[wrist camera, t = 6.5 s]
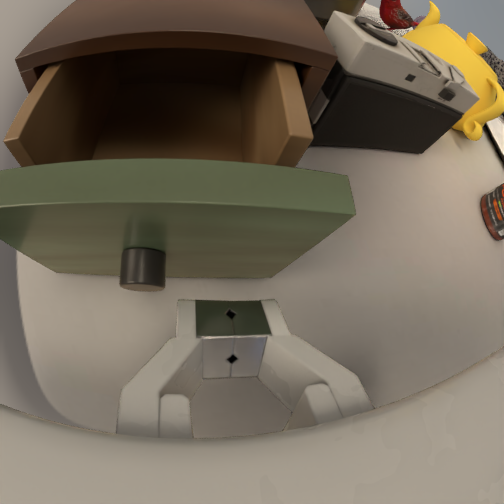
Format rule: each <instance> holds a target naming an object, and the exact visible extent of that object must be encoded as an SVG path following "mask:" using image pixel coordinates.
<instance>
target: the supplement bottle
mask: <svg viewBox="0 0 504 504" xmlns="http://www.w3.org/2000/svg"><path fill="white" fill-rule="evenodd" d="M481 208H482V214H483V217H484V220H485V223H486V226H487V228H488V229H489V231H490V233H491V234H492V235H493V237H494V238H495V239H497V240H502V239H504V183H503V184H501V185H500V186H498V187H496V188H495V189H493V190H492V191H490V192H488V193H487V194H485V195H484V196H483V197H482V200H481Z"/></svg>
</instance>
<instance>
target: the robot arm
mask: <svg viewBox="0 0 504 504" xmlns="http://www.w3.org/2000/svg"><path fill="white" fill-rule="evenodd" d="M242 377H258V379H259V380H260V381H261V382H262V383H263V384H264V385H265V386H266V387H267V388H268V389H269V390H270V391H271V392H272V393H273V394H274V395H275V396H276V397H277V398H278V399H279V400H280V401H281V402H282V403H283V404H284V405H285V406H286V407H287V408H288V409H289V410H290V411H291V412H292V415H291V417H290V419H289V421H288V422H287V424H286V426H285V428H284V430H283V431H280V432H273V433H266V434H258V435H248V436H237V437H223V438H194V436H193V428H192V420H191V411H190V400H191V399H192V397H193V396H194V394H195V392H196V391H197V389H198V387H199V386H200V384H201V383H202V381H203V380H202V379H220V378H242ZM0 504H504V346H503V347H502V348H500V349H499V350H497V351H496V352H494V353H492V354H491V355H489V356H488V357H486V358H484V359H483V360H481V361H479V362H478V363H476V364H474V365H473V366H471V367H469V368H467V369H465V370H464V371H462V372H460V373H458V374H456V375H454V376H452V377H450V378H448V379H446V380H444V381H442V382H440V383H438V384H436V385H434V386H432V387H429V388H427V389H425V390H423V391H420V392H418V393H416V394H413V395H411V396H408V397H406V398H403V399H401V400H398V401H395V402H393V403H390V404H387V405H384V406H381V407H379V408H376V409H375V408H374V406H373V405H372V403H371V401H370V399H369V397H368V395H367V393H366V391H365V389H364V388H363V386H362V384H361V382H360V380H359V378H358V376H357V375H356V374H354V373H353V372H351V371H350V370H348V369H347V368H345V367H344V366H342V365H341V364H339V363H337V362H336V361H334V360H333V359H331V358H330V357H328V356H327V355H325V354H324V353H322V352H321V351H319V350H318V349H316V348H315V347H313V346H312V345H310V344H309V343H307V342H306V341H305V340H303V339H302V338H300V337H299V336H297V335H291V333H290V331H289V328H288V326H287V324H286V321H285V319H284V316H283V314H282V312H281V309H280V307H279V305H278V302H277V301H276V300H275V299H270V300H259V301H215V300H178V303H177V322H176V338H170V339H169V340H168V341H167V342H166V344H165V345H164V346H163V347H162V348H161V349H160V350H159V351H158V352H157V353H156V354H155V355H154V356H153V357H152V358H151V359H150V360H149V361H148V362H147V363H146V364H145V365H144V366H143V367H142V368H141V370H140V371H139V372H138V373H137V374H136V375H135V376H134V377H133V378H132V379H131V380H130V381H129V382H128V383H127V384H126V385H125V386H124V387H123V388H122V389H121V395H120V403H119V410H118V419H117V429H116V434H114V433H107V432H101V431H95V430H90V429H84V428H79V427H74V426H70V425H66V424H62V423H57V422H54V421H50V420H46V419H43V418H40V417H36V416H33V415H30V414H27V413H24V412H21V411H18V410H15V409H12V408H10V407H7V406H5V405H2V404H0Z"/></svg>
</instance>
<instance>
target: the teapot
mask: <svg viewBox="0 0 504 504" xmlns="http://www.w3.org/2000/svg"><path fill="white" fill-rule="evenodd" d="M439 20H440V12H439V10H438V8H437V7H436V6H435V4H434V3H433V2H431V1H430V12H429V13H428V15H427V16H426V17H425V19H424V20H423V21H422V22H420V23H419V25H418V26H417V27H416V28H415V30H412V31H410V32H408V33H406V34H405V35H403V36H402V37H403V38H405V39H407V40H409V41H411V42H413V43H415V44H417V45H419V46H421V47H423V48H424V49H426V50H428V51H430V52H431V53H433V54H435V55H437V56H438V57H440V58H441V59H443V60H445V61H446V62H448V63H449V64H451V65H454V66H456V67H457V68H458V69H459V70H460V71H461V72H462V73H463V75H464V76H465V77H464V78H465V80H466V81H467V82H468V83H469V85H470V86H471V87H472V89H473V90H474V91H475V93H476V94H477V95H478V97H479V98H480V100H478V101H477V102H476V103H475V104H474V105H473V106H472V107H471V108H470V109H469V110H468V111H467V112H466V113H465V115H464V116H463V115H462V116H463V117H462V118H461V119H460V120H459V121H458V122H457V123H456V124H455V125H454V126H452V127H451V128H453V129H456V130H460V131H463V132H464V133H465V135H466V136H467V137H468V138H469V139H470V140H473V141H477V140H479V139H480V138H481V136H482V133H483V131H482V127H483V126H484V124H485V123H486V122H488V121H491V120H493V119H495V118H497V117H499V116H500V115H501V114H502V113H503V112H504V91H503V89H502V87H501V86H500V85H499V84H498V78H497V75H496V74H495V72H494V71H493V70H492V68H491V67H490V66H489V65H488V64H487V63H486V61H485V60H484V59H483V58H482V57H481V56H480V55H479V54H482V53H485V52H487V51H488V49H487V48H486V46H485V45H484V44H483V43H482V42H481V41H480V40H479V39H478V38H477V37H476V36H474V35H473V34H472V33H470V32H469V33H468V36H467V40H466V41H465V40H464V39H463V38H461V37H460V36H459V35H458V34H457V33H456V32H454V31H453V30H452V29H451V28H449V27H448V26H446V25H445V24H438V23H439ZM496 93H497V99H496V101H495V98H496Z"/></svg>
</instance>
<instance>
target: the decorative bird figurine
mask: <svg viewBox="0 0 504 504" xmlns="http://www.w3.org/2000/svg"><path fill="white" fill-rule="evenodd" d="M380 17H381V19H382V21H383V22H384V23H385V24H386V25H387V26H389V27H391V28H387V29H386V30H388V31H391V30H395V29H407V28H410V27H412V26H418V25H419V23H417V22H414V21H413V20H412V18H411V16H410V15H409V14H408V13H407V12H406V11H405V10H404V9H403V7H402V6H401V3H400V0H381V5H380ZM391 32H392V31H391Z"/></svg>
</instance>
